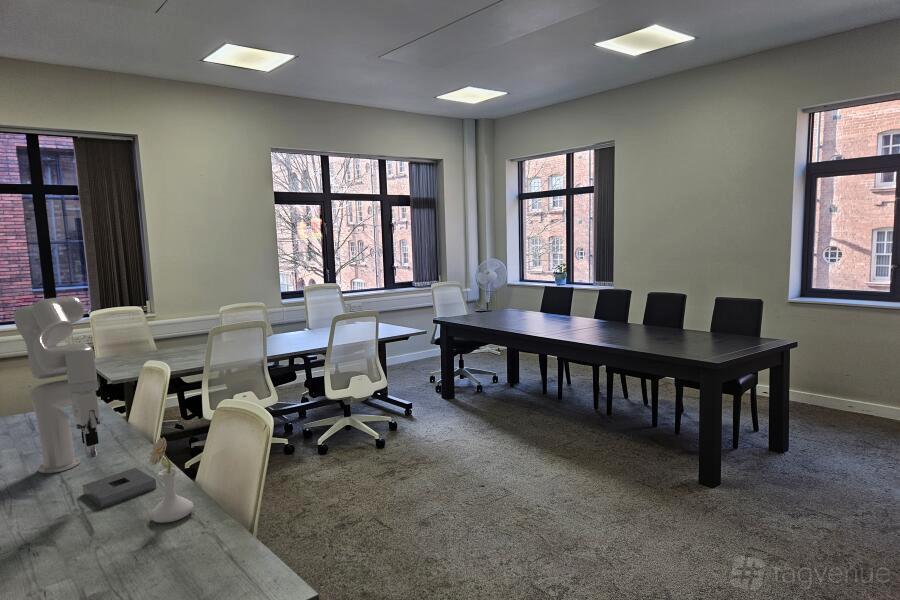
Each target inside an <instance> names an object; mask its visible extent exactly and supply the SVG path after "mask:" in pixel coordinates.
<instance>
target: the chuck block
mask: <svg viewBox="0 0 900 600" xmlns="http://www.w3.org/2000/svg"><path fill="white" fill-rule="evenodd" d="M154 488H155V489H156V488H157V480H156V478H154V477H153V476H151V475H149V474H147V473H146V472H144V471H142V470H140V469H139V468H137V467H134V468H131V469H127V470H124V471H121V472H119V473H116V474H112V475H109V476H106V477H103V478H100V479H97V480H95V481H91V482H88V483H86V484H82V492H83V493H82V494H83V495H84V496H85V497H87V498H88V499H89V500H90V501H92V502H94V503H95V504H96V505H97V506H99V507H100V508H101V509H102V508H105V507H108V506H111V505H115V504H116V503H120V502H123V501H126V500H128V499H130V498H132V497H135V496H139V495H140V494H144V493H146V491H147V492H149V491H152V490H155V489H154Z"/></svg>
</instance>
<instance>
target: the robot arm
mask: <svg viewBox="0 0 900 600" xmlns="http://www.w3.org/2000/svg"><path fill="white" fill-rule="evenodd" d="M84 316H85V308H84V304H83V302H82V301H81V300H80V298H78V297H76V296H64V297H51V298H43V299H41V300H38V301H36V302H35V303H34V304H31V305H25V306H21V307H19V308H17V309H16V310H15V311H14V314H13V320H14V324H15V325H14V326H15V327H16V329H17V331H18V333H19V334H20V337H22V338H23V340H24V342H25V345H26V352H27V357H28V362H29V363H28V364H29V367H30V371H31V374H32V377H33V378H34V379H36V380H47V379H52V378H53V379H54V378H59V377H65V376H66V377H67V378H66V379H60V380H53V381H49V382H44V383H41V384H38V385H36V386H34V387H33V388H32V389H31V391H30V395H29V396H30V401H31V404H32V406H33V409H34V414H35V418H36V422H37V430H38V437H39V445H40V451H41V459H42V464H41V465H40V466H39V467H38V469H37V470H38V472H39V473H40V474H53V473H55V474H56V473H60V472H64V471H67V470H70V469H72V468H75V467H76V466H78V465H79V464H80V463H81V458H80V457H78V456H76V455H75V449H74V442H73V440H74V439H73V434H72V428H71V425H72V424H71V418H70V417H69V414H68V413H66V412H65V411H64V410H61V409H60V408H62V407H66V406H70V405H71V411H72V419H73V422H75V423H76V424H80V425H82V426H84V425H85V429H86V434H85V438H86V445H87V446H92V445H95V444H96V445H98V444H99V443H100V442H99V436H98V435H99V434H98V424H97V423H96V422H99V420H101V419H100V417H101V416H100V409H99V403H98V397H97V391H98V390H99V383H98V376H97V375H98V374H97V366H96V358H95V353H94V352H95V350H94V349H93V348H92V346H90V345H89V344H88V343H85V342H84V343H83V342H81V343H72V344H67V345H59V346H57V344H59V343H61V342H63V341H64V340H66V339H67V338H69V337H70V336H71V335H72V333H73V331H74V326H73V324H75V323H77V322H79V321H81V320H82V319H83V317H84ZM89 421H90V423H88V422H89ZM89 425H91V426H89ZM88 426H89V428H88ZM80 430H81V432H80V433H81V442H82V444H83V445H85V442H84V434H83V428H82V429H80Z"/></svg>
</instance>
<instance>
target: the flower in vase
mask: <svg viewBox="0 0 900 600" xmlns="http://www.w3.org/2000/svg"><path fill="white" fill-rule="evenodd" d="M167 445H168V444H167V440H166V438H165V437H159V438H158V439H157V440H156V442H153V446H152V451H150V453H149V456H150V458H149V463H150V465H151V467H153V466H155V465H158V464H159V463H161V465H162V466H163V467H165V469H162V470H161V471H159V472H158V476H159V477H160V478H161V479H162V480H163V483H164V487H165V496H164V498H163V499H162V500H161V501H160V502H159V503H158V504H157V505H156V506H155V507H154V508H153V510H152V511H151V512H150V519H151V520H152V521H153V522H155V523H160V524H161V523H171V522H176V521H178V520H182V519H183V518H185V517H186V516H189V515H190V514H191V513H192V511H193V510H194V507H195V505H194V503H193V501H191V500H189V499H187V498H186V497H183V496H180V495H178V494H177V493H176V490H175V477H176V474H177V472H178V471H179V469H178V468H176V467H172V463H171V462H170V459H169V458H168V456H167V455H166V454H165V453H166V450H167ZM149 463H148V464H149Z"/></svg>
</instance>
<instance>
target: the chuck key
mask: <svg viewBox="0 0 900 600" xmlns="http://www.w3.org/2000/svg"><path fill="white" fill-rule="evenodd" d="M100 420H101V419H100ZM100 420H99V422H96V423H97V425H100V424H101V421H100ZM88 423H90V421H89V422H88ZM89 426H91V425H89ZM89 426H88V428H89ZM75 428H76V429H77V430H81V429H82V428H83V434H84V442H85V444H84V449H85V450H84V451H85V457H86V459H91V458H95V457H98V444H95V445H92V446H87V445H86V438H85V434H86V429H85V425H84V426H82V425H80V424H78V423H76V424H75Z"/></svg>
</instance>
